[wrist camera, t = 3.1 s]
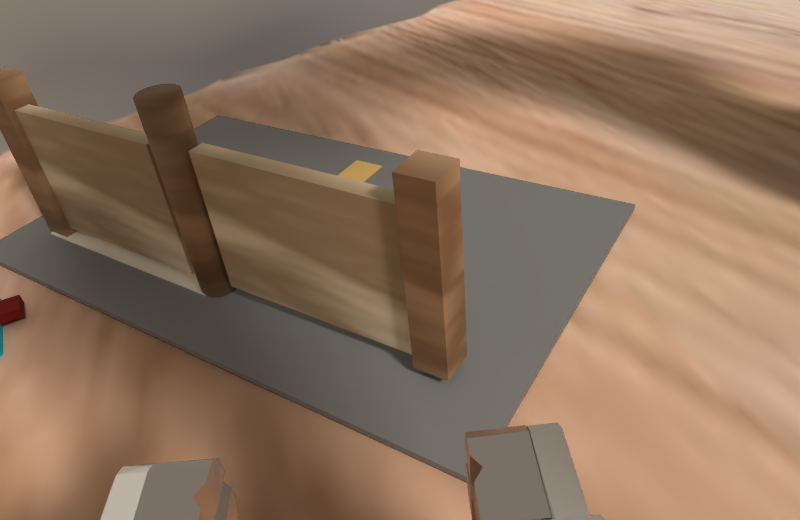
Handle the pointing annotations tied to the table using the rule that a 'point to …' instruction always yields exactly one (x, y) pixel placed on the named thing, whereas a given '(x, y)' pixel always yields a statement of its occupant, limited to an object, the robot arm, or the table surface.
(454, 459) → the board
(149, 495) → the robot arm
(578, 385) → the table surface
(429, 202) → the fence panel
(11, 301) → the gear mechanism
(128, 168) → the fence fixed
